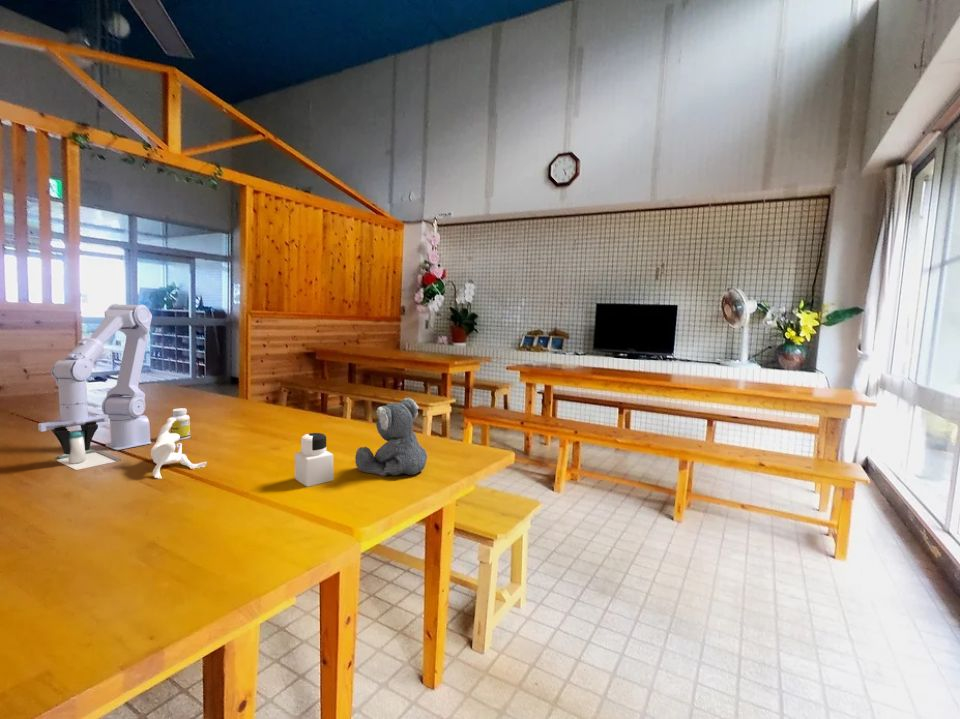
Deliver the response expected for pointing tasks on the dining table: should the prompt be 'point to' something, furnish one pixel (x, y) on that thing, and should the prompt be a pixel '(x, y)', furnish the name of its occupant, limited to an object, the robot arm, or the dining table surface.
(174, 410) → the supplement bottle
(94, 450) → the green striped bar
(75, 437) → the white teal cylinder
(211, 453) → the dining table surface
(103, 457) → the white rectangular slab
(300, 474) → the medicine bottle
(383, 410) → the koala plush
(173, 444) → the person figurine
